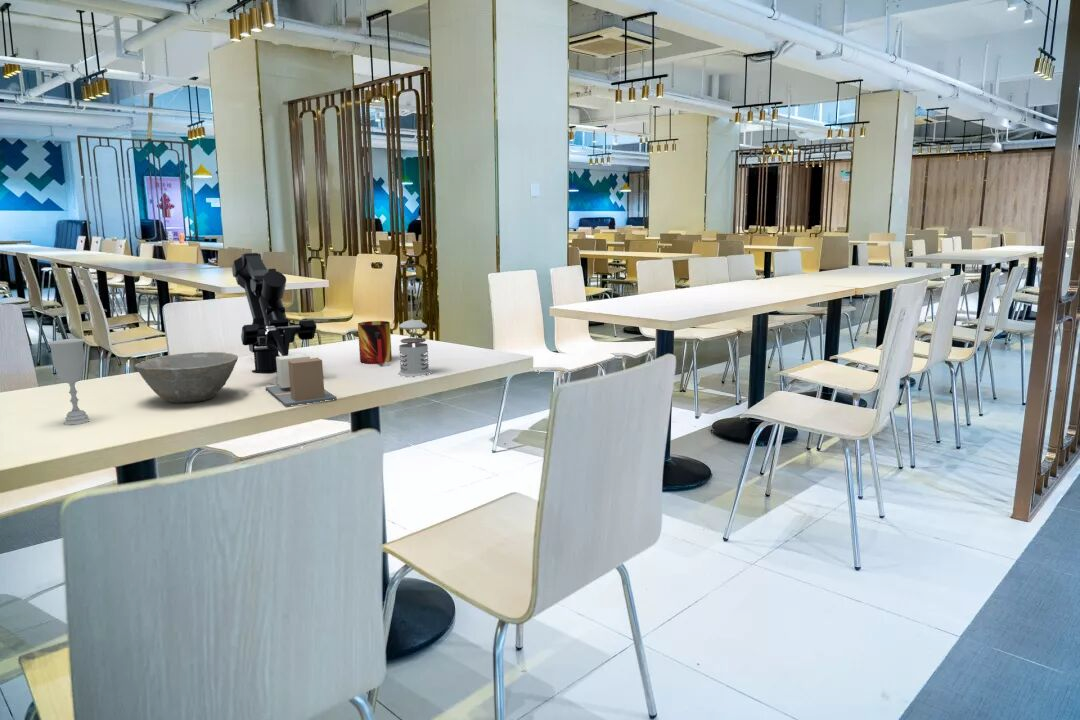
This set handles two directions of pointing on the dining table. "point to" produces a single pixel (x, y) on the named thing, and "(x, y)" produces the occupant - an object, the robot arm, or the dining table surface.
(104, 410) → the dining table surface
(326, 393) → the rod stand
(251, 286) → the robot arm
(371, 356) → the mug
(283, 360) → the sleeve
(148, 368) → the ceramic bowl
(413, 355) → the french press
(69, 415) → the chalice
